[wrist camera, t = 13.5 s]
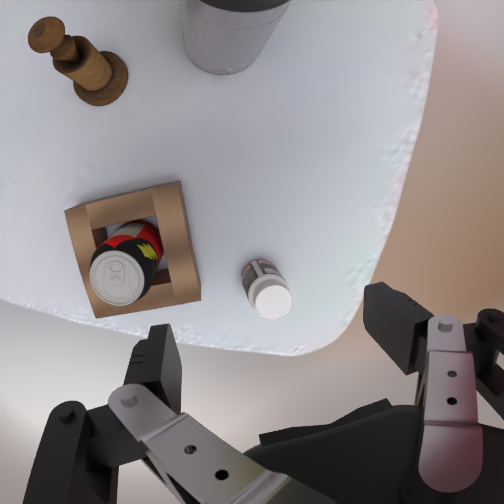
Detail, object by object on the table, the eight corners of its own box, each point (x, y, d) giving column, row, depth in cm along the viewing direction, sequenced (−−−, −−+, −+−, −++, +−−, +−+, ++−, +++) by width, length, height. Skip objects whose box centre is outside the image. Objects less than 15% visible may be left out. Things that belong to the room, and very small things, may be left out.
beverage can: (115, 267, 38) (86, 308, 26) (115, 217, 36) (81, 242, 25) (163, 270, 39) (151, 314, 27) (165, 220, 37) (151, 246, 26)
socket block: (79, 204, 35) (64, 210, 30) (180, 181, 36) (177, 183, 31) (105, 301, 39) (95, 318, 34) (200, 284, 40) (201, 300, 35)
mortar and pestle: (133, 94, 32) (83, 44, 15) (85, 114, 32) (7, 86, 15) (122, 48, 30) (74, -21, 13) (75, 68, 30) (2, 19, 13)
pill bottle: (249, 299, 42) (261, 330, 34) (234, 268, 40) (243, 294, 32) (282, 283, 42) (301, 311, 34) (269, 252, 40) (286, 275, 32)
